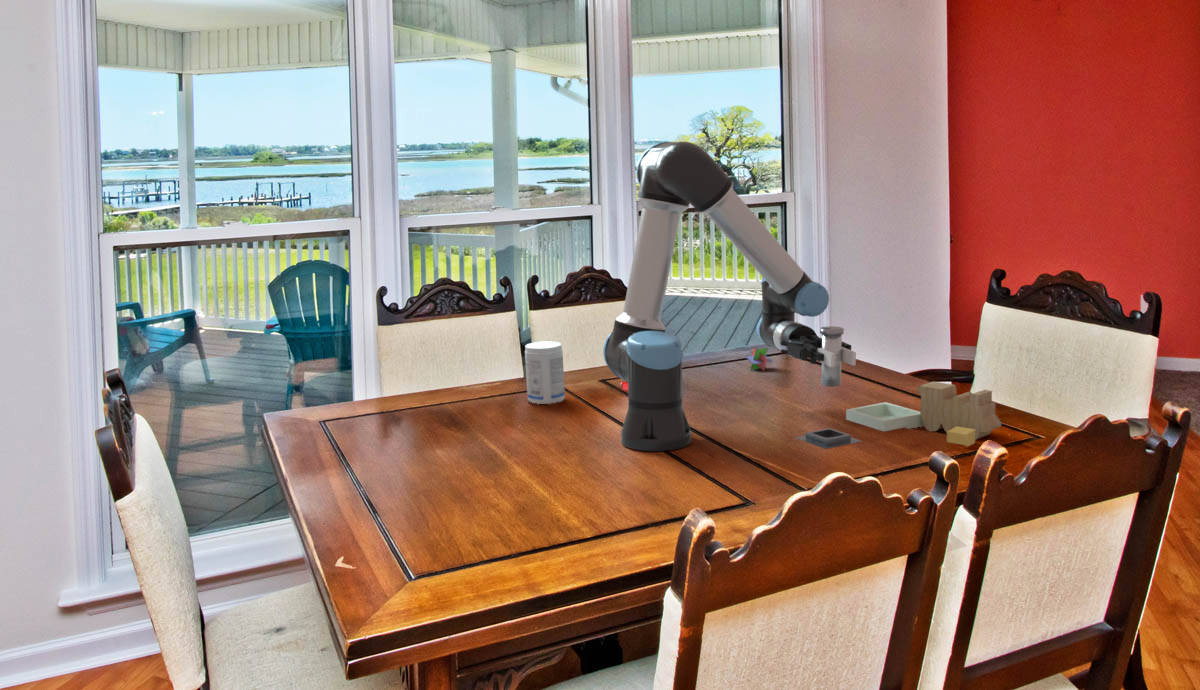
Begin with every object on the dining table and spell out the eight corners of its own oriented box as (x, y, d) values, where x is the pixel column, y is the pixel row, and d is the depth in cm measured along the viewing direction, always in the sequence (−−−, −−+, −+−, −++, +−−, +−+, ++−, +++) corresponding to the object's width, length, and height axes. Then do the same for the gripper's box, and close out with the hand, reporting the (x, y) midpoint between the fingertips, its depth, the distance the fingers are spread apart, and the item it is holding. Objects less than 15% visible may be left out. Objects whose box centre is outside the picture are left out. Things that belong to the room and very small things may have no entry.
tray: (884, 434, 220) (884, 421, 220) (846, 422, 231) (846, 409, 230) (924, 426, 226) (924, 413, 225) (885, 415, 236) (885, 402, 236)
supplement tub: (561, 395, 264) (559, 339, 261) (568, 403, 255) (566, 346, 252) (524, 398, 262) (522, 342, 259) (530, 406, 253) (527, 349, 250)
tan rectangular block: (965, 448, 209) (966, 434, 208) (946, 445, 212) (947, 431, 211) (974, 443, 213) (975, 429, 212) (956, 440, 215) (956, 426, 215)
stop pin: (829, 388, 210) (830, 331, 208) (814, 383, 214) (815, 328, 212) (847, 385, 213) (848, 328, 210) (832, 380, 217) (833, 325, 214)
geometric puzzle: (780, 364, 284) (769, 339, 287) (761, 367, 281) (750, 342, 284) (767, 375, 290) (756, 351, 293) (748, 378, 287) (737, 353, 290)
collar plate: (825, 452, 209) (825, 443, 209) (794, 441, 218) (794, 432, 217) (862, 444, 214) (862, 435, 213) (830, 433, 222) (830, 425, 222)
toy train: (987, 443, 212) (989, 397, 211) (915, 428, 225) (916, 384, 223) (1000, 438, 216) (1003, 392, 214) (929, 423, 229) (930, 380, 227)
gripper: (830, 353, 232) (881, 374, 210) (760, 358, 228) (804, 380, 206) (830, 321, 231) (882, 338, 208) (760, 325, 227) (805, 344, 205)
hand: (843, 359), depth 207 cm, fingers closed on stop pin, 4 cm apart
